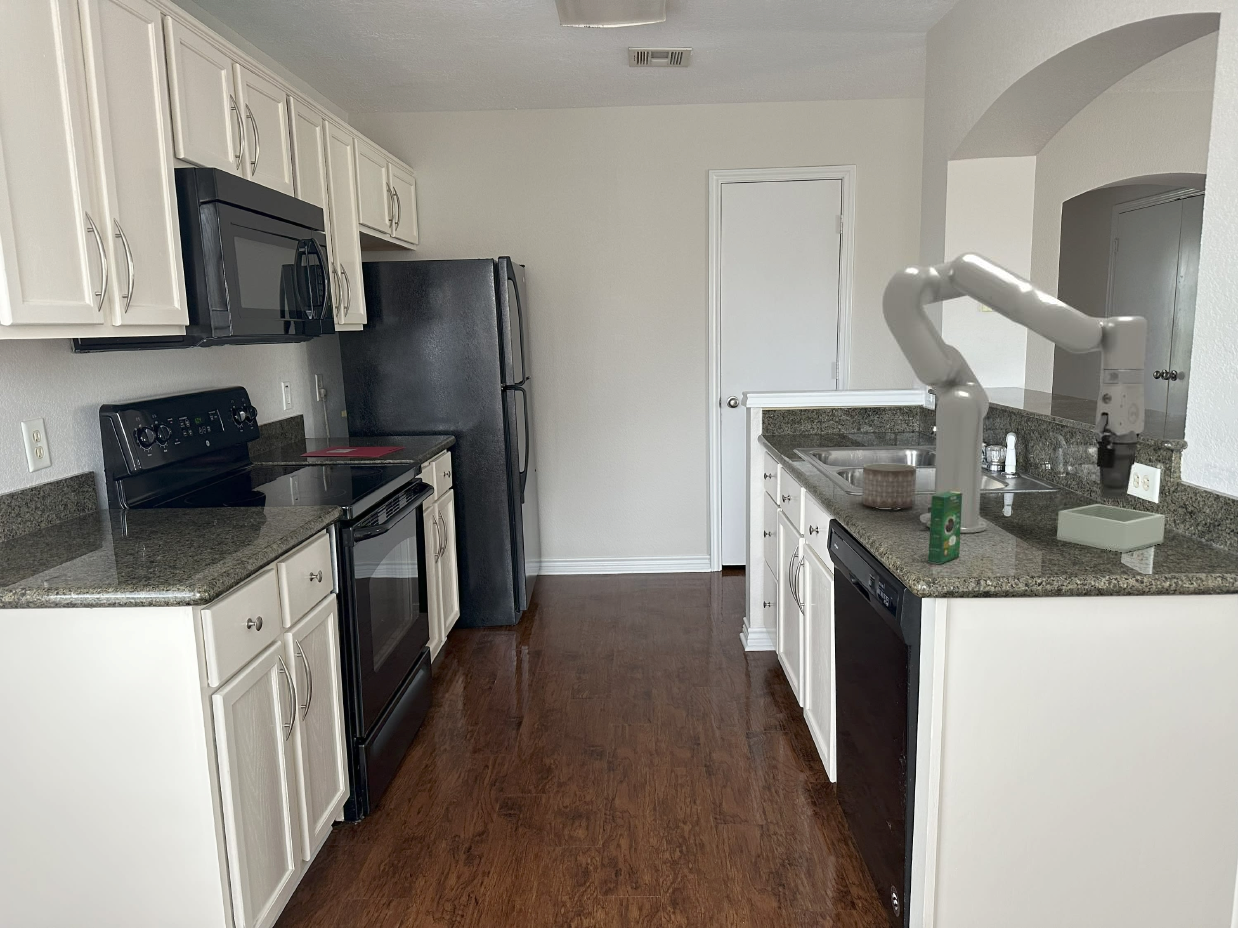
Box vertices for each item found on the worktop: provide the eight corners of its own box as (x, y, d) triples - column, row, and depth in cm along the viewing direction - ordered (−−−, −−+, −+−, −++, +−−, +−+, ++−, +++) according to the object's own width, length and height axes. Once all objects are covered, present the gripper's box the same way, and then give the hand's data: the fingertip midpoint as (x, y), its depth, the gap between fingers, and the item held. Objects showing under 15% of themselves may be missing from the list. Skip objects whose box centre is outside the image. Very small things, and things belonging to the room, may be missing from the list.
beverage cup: (1117, 502, 172) (1124, 402, 168) (1085, 496, 178) (1091, 400, 175) (1142, 498, 174) (1149, 400, 171) (1109, 492, 181) (1115, 398, 178)
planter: (922, 506, 216) (924, 465, 215) (902, 514, 207) (904, 472, 205) (874, 500, 224) (875, 461, 223) (853, 508, 215) (854, 467, 213)
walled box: (1124, 553, 168) (1126, 523, 167) (1056, 539, 180) (1058, 511, 179) (1162, 543, 175) (1165, 515, 174) (1095, 530, 187) (1097, 503, 186)
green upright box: (946, 554, 169) (949, 489, 167) (960, 557, 167) (963, 491, 165) (926, 562, 164) (929, 494, 162) (941, 565, 162) (944, 496, 160)
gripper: (1115, 380, 165) (1109, 472, 168) (1164, 377, 174) (1157, 464, 176) (1078, 379, 172) (1072, 467, 174) (1126, 376, 180) (1121, 460, 183)
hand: (1115, 465), depth 175 cm, fingers closed on beverage cup, 6 cm apart
